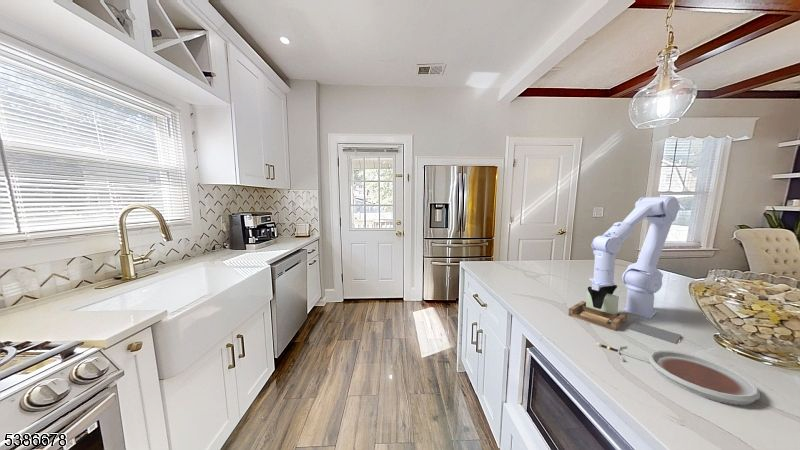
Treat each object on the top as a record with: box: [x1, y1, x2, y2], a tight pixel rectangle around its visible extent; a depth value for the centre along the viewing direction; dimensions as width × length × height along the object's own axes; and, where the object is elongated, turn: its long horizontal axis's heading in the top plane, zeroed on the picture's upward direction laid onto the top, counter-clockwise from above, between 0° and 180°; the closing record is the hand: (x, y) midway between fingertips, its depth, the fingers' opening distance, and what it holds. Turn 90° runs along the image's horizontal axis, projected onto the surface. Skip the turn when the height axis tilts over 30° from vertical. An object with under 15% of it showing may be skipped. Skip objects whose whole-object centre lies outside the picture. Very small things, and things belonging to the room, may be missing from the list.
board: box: [585, 289, 620, 315], centre depth 92 cm, size 2×9×9 cm, turn 34°
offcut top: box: [579, 311, 610, 324], centre depth 89 cm, size 4×8×1 cm, turn 38°
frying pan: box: [595, 341, 761, 406], centre depth 64 cm, size 17×3×28 cm
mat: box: [626, 321, 682, 345], centre depth 81 cm, size 8×11×1 cm
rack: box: [568, 300, 628, 332], centre depth 90 cm, size 12×14×3 cm
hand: (601, 305), depth 92 cm, fingers open, 7 cm apart
